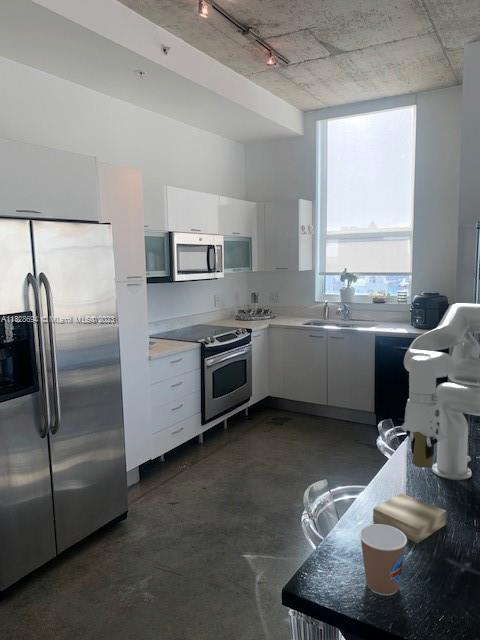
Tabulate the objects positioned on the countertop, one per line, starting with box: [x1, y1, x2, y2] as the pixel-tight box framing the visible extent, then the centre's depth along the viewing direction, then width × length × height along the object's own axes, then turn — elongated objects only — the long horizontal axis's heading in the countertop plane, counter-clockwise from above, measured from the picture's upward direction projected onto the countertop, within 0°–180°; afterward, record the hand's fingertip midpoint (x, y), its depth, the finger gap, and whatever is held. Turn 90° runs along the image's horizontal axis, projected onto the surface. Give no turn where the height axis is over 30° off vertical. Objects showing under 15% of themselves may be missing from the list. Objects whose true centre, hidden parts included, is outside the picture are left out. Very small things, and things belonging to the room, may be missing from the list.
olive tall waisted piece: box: [411, 432, 434, 469], centre depth 146 cm, size 6×6×11 cm
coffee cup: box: [358, 523, 408, 596], centre depth 109 cm, size 10×10×12 cm
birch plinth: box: [372, 492, 447, 544], centre depth 135 cm, size 14×14×4 cm
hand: (422, 454), depth 147 cm, fingers closed on olive tall waisted piece, 4 cm apart
